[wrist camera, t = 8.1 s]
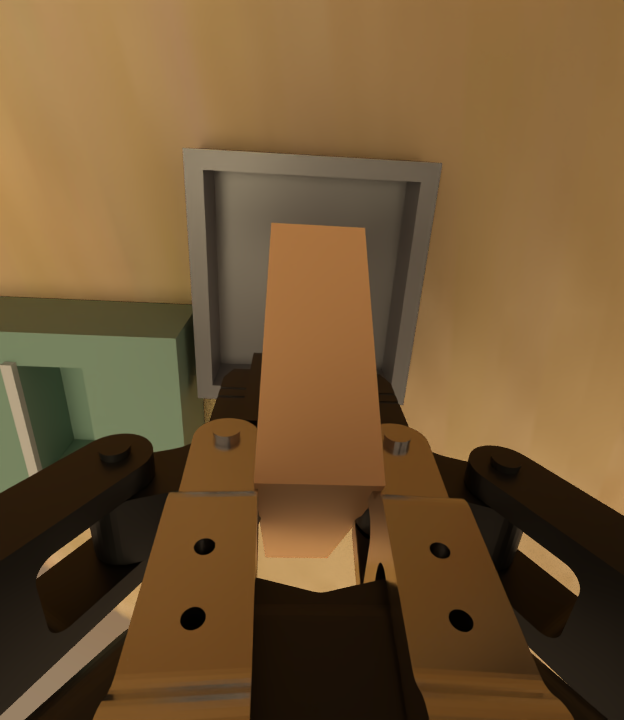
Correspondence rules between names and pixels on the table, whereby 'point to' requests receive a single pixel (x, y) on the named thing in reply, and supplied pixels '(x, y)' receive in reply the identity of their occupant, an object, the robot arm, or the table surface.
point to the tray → (309, 207)
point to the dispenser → (92, 378)
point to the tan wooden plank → (316, 392)
